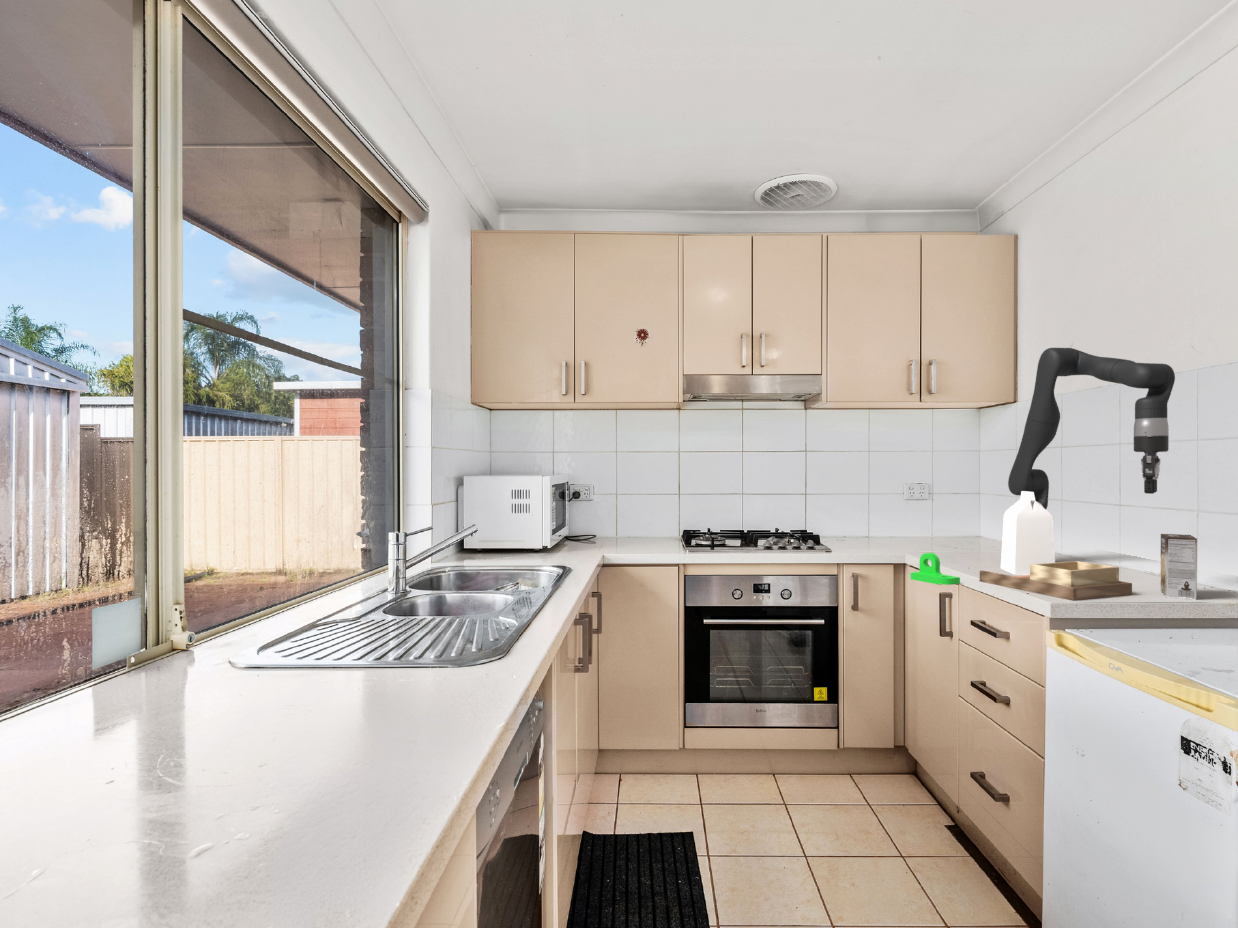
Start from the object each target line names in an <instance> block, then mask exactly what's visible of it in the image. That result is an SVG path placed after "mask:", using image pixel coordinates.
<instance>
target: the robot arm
mask: <svg viewBox="0 0 1238 928" xmlns="http://www.w3.org/2000/svg"><path fill="white" fill-rule="evenodd" d="M1035 374H1036V376H1035V382H1034V388H1033V394H1032V398H1031V403H1030V407H1029V411H1028V413H1027V417H1026V422H1025V425H1024V430H1023V433H1022V434H1023V435H1022V437H1021V440H1020V445H1019V447H1018V452H1017V454H1016V456H1015V459H1014V462H1013V465H1012V467H1011V470H1010V472H1009V476H1008V480H1007V481H1008V482H1007V486H1008V490H1009V492H1010V493H1011V494H1012V495H1015V496H1020V497H1021V491H1029V492H1034V496H1035V501H1037V502H1039V503H1040V504H1041V505H1042V506H1043V507H1044V509H1046V510H1047V509H1048V505H1049V504H1048V503H1049V492H1050V491H1049V489H1050V488H1049V487H1050V480H1049V477H1048V475H1047V473H1046V472H1045V471H1044V470H1042V469H1039V468H1038V469H1037V468H1034V464H1035V461H1036V460H1037V458H1038V457H1039V455H1040V454H1041V453H1042V452H1044V450H1045V449H1046V448H1047V447H1048V446H1049V445H1050V444H1051V443H1052V441H1053V440H1054V439H1055V437H1056V435H1057V432H1058V428H1059V425H1060V421H1061V412H1060V408H1059V406H1058V404H1057V400H1056V398H1055V397H1056V396H1055V388H1056V382H1057V379H1058V377H1070V376H1090V377H1094V378H1096V379H1098V380H1100V381H1104V382H1109V383H1115V384H1121V385H1124V386H1127V387H1130V388H1135V389H1145V390H1146V389H1148V390H1147V393H1146V395H1145V397H1141V398H1138V399H1137V400H1136V401H1135V403H1134V424H1133V451H1134V452H1135V453H1144V455H1143V456H1142V458H1141V459H1140V465H1141V473H1142V478H1143V483H1144V484H1143V489H1144V490H1143V491H1144V494H1152V495H1153V494H1155V493H1157V492H1158V478H1159V475H1160V470H1161V467H1160V465H1161V458H1159V455H1158V453H1167V452H1168V451H1169V449H1170V447H1169V444H1170V443H1169V441H1170V440H1169V438H1170V437H1169V427H1170V426H1169V420H1168V402H1169V399H1170V398H1171V395H1172V392H1173V388H1174V384H1175V381H1176V375H1175V371H1174V369H1173V367H1172V366H1170V365H1169V364H1166V363H1149V362H1137V361H1134V360H1129V359H1126V358H1119V357H1118V358H1116V357H1107V356H1106V357H1105V356H1098V355H1093V354H1090V353H1087V352H1084V351H1081V350H1079V349H1076V348H1072V347H1048V348H1047V349H1045V350H1044V351H1042V353H1041V355H1040V356H1039V359H1038V363H1037V368H1036V373H1035Z"/></svg>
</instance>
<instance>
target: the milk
mask: <svg viewBox="0 0 1238 928" xmlns="http://www.w3.org/2000/svg"><path fill="white" fill-rule="evenodd" d="M1002 518H1003V520H1002V536H1001V537H1002V539H1001V553H1000V554H1001V556H1000V569H1001V570H1003V571H1005V572H1008V573H1010V574H1012V575H1013V576H1022V575H1030V564H1043V563H1056V553H1055V550H1056V549H1055V533H1054V531H1055V530H1054V517H1053V516H1052V514H1051V513H1050V511H1048V510H1047V509H1044V507H1043V506H1042V505H1041V504H1040V503H1039V502H1037V501H1035V496H1034V492H1029V491H1021V496H1020V499H1019V500H1017V501H1016V502H1015V503H1014V504H1013V505H1011V506H1010V507H1009V508H1007V509H1006V510H1005V512H1004V513H1003V517H1002Z"/></svg>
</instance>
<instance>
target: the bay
mask: <svg viewBox="0 0 1238 928" xmlns="http://www.w3.org/2000/svg"><path fill="white" fill-rule="evenodd" d="M979 582H981V583H982V582H983V583H987V584H992V585H997V586H1002V587H1006V588H1011V589H1016V590H1021V591H1024V592H1025V591H1026V592H1030V593H1036V594H1040V595H1045V596H1050V597H1055V598H1060V599H1063V600H1064V599H1065V600H1069V601H1081V600H1090V599H1101V598H1104V599H1105V598H1113V597H1114V598H1115V597H1123V596H1133V583H1132V582H1128V581H1127V582H1126V581H1122V580H1119V583H1114V584H1103V585H1091V586H1080V587H1068V586H1063V585H1057V584H1052V583H1047V582H1041V581H1036V580H1031V579H1030V575H1007V574H1004V573H998V572H993V571H992V572H991V571H987V570H979Z"/></svg>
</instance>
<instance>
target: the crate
mask: <svg viewBox="0 0 1238 928" xmlns="http://www.w3.org/2000/svg"><path fill="white" fill-rule="evenodd" d="M1030 579H1031V580H1036V581H1041V582H1047V583H1052V584H1057V585H1063V586H1068V587H1080V586H1091V585H1103V584H1114V583H1119V581H1120V567H1116V566H1111V565H1105V564H1098V563H1091V562H1085V561H1079V560H1073V561H1058V562H1055V563H1043V564H1030Z"/></svg>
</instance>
